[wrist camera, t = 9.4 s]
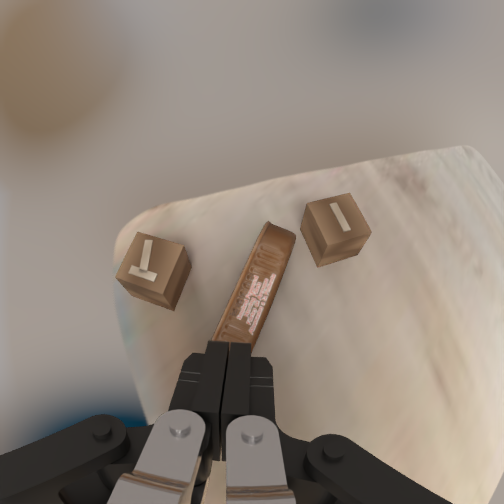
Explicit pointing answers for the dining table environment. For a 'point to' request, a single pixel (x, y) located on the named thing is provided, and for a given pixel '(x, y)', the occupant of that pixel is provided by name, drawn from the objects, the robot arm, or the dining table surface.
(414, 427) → the dining table surface
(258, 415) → the robot arm
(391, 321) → the dining table surface
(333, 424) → the dining table surface
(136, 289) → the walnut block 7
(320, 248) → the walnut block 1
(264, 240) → the tin
